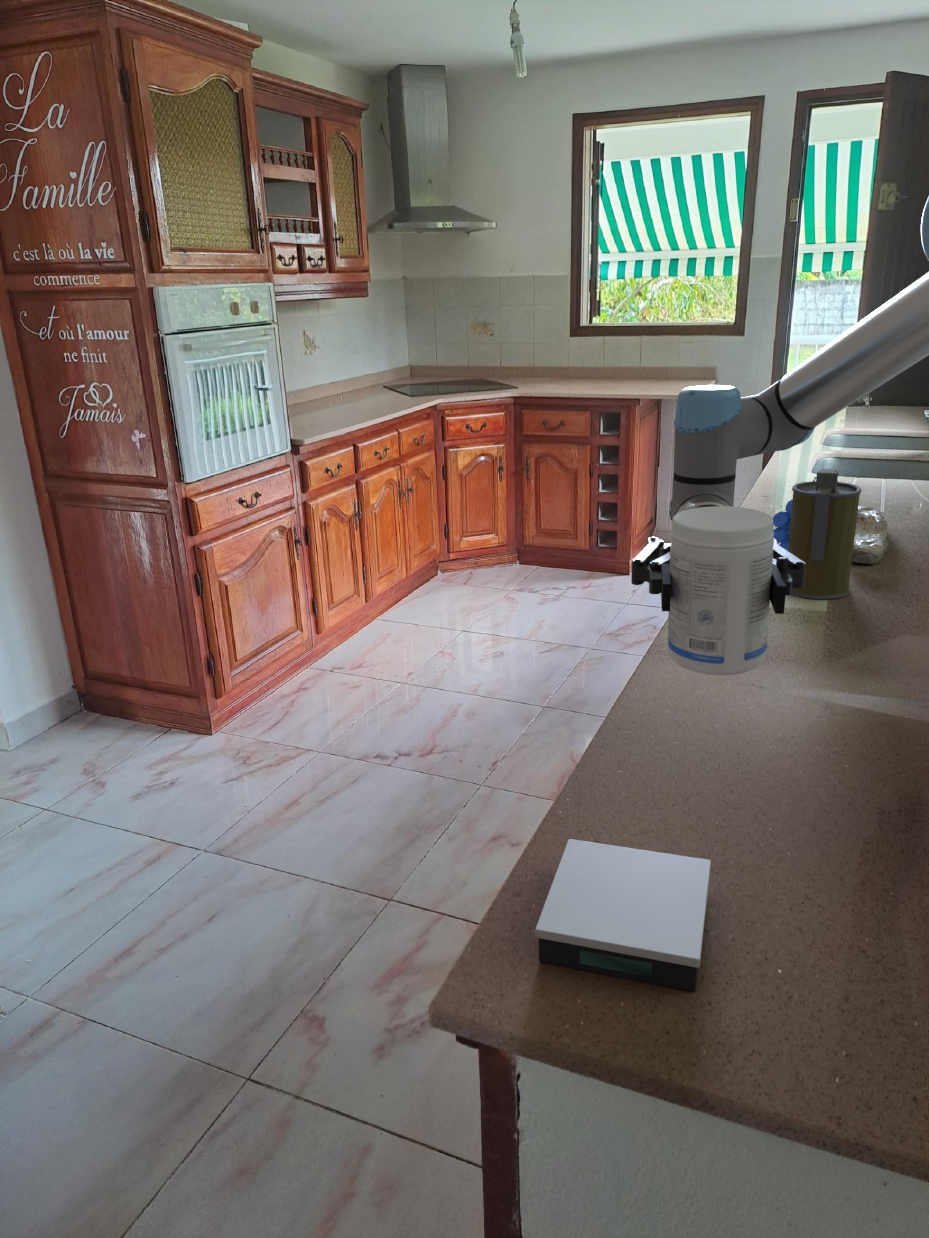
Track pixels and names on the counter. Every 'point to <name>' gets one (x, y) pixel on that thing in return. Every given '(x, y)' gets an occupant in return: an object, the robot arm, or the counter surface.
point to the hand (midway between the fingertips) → (723, 598)
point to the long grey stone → (869, 536)
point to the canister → (824, 534)
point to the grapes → (783, 526)
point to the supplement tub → (720, 589)
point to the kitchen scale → (626, 914)
